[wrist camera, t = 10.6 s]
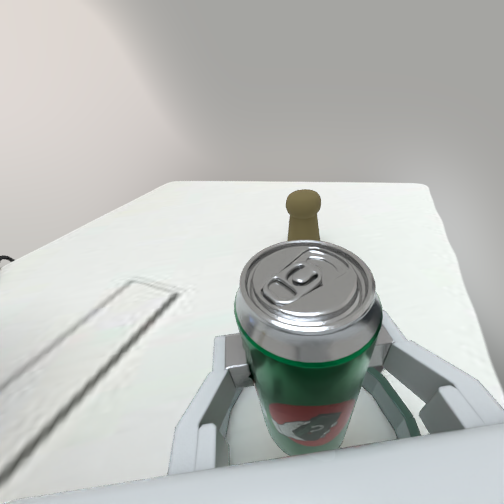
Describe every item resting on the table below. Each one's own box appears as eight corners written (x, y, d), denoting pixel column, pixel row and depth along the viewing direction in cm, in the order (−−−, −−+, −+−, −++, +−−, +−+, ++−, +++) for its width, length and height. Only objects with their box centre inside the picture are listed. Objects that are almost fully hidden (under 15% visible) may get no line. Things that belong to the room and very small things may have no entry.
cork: (323, 244, 40) (327, 185, 33) (318, 265, 35) (320, 201, 29) (291, 241, 42) (288, 185, 36) (282, 260, 38) (277, 200, 31)
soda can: (362, 419, 14) (425, 273, 7) (305, 492, 11) (309, 392, 4) (301, 358, 17) (300, 222, 10) (249, 405, 15) (202, 274, 8)
